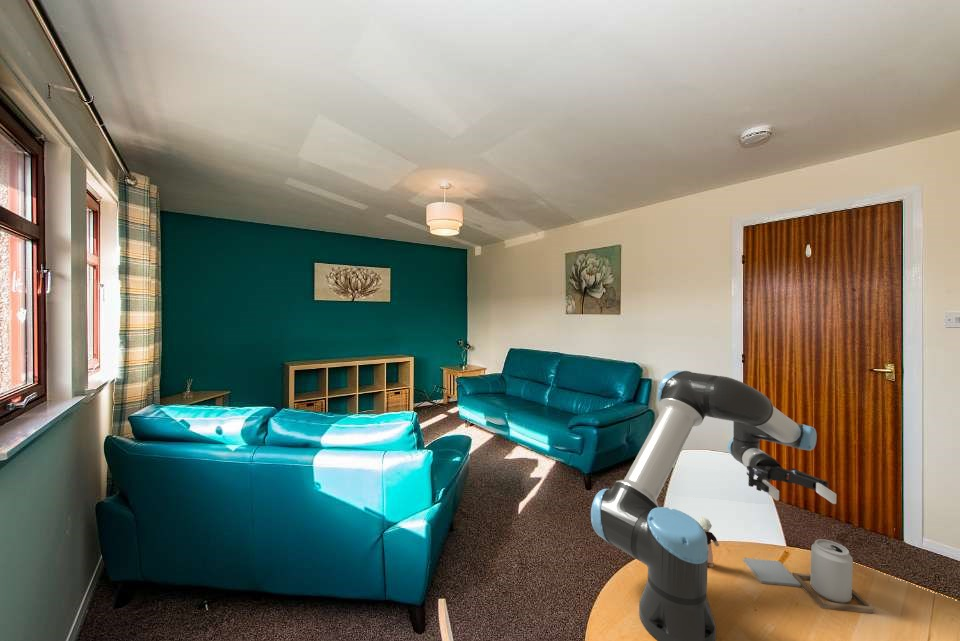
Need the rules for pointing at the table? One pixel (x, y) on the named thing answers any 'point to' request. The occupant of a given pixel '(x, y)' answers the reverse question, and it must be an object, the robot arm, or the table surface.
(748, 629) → the table surface
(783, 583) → the coaster
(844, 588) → the can
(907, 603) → the table surface
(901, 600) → the table surface
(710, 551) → the grandmother figurine
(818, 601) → the brown square frame
